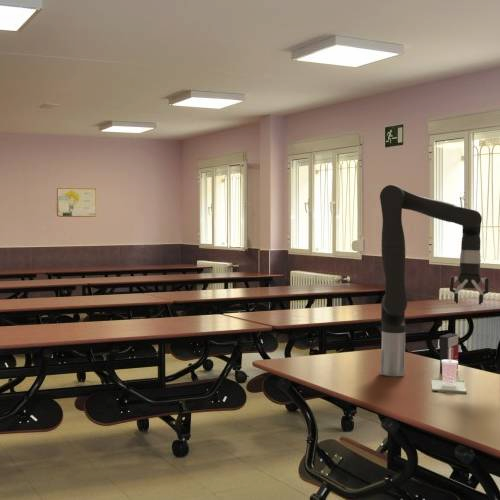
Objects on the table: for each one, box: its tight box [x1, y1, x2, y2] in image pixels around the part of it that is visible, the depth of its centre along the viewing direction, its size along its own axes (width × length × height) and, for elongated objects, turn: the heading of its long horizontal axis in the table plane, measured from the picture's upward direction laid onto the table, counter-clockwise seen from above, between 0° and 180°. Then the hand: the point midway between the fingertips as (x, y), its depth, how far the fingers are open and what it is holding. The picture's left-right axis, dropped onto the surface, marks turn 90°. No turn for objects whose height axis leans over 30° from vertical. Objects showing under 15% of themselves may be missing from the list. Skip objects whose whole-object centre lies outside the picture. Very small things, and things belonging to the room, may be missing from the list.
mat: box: [431, 378, 467, 395], centre depth 270 cm, size 12×18×1 cm, turn 167°
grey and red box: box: [438, 332, 459, 374], centre depth 296 cm, size 11×4×15 cm, turn 143°
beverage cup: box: [441, 347, 459, 386], centre depth 270 cm, size 6×6×14 cm
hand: (468, 303), depth 281 cm, fingers open, 8 cm apart
